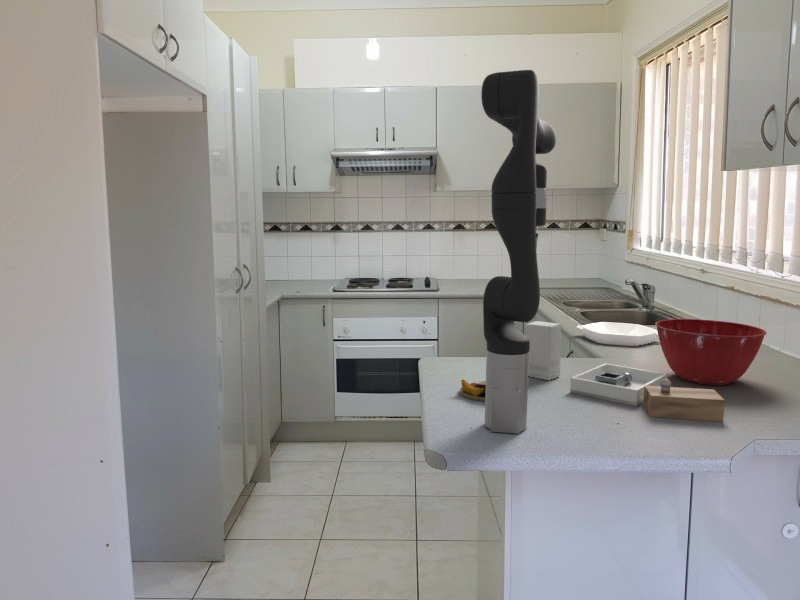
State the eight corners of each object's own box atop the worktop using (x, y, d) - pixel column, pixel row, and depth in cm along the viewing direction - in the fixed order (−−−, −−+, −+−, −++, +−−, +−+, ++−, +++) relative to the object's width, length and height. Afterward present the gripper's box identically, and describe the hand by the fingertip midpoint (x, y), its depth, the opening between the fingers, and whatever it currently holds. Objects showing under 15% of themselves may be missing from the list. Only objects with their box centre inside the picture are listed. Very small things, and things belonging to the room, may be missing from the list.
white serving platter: (572, 343, 237) (573, 331, 236) (578, 331, 260) (579, 320, 259) (664, 350, 226) (665, 337, 226) (662, 337, 250) (662, 325, 249)
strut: (639, 384, 179) (640, 368, 178) (615, 396, 167) (616, 379, 166) (619, 380, 183) (620, 364, 182) (594, 392, 171) (595, 375, 170)
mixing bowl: (657, 362, 207) (661, 314, 205) (760, 374, 194) (765, 323, 192) (645, 383, 182) (649, 329, 180) (762, 398, 169) (768, 339, 167)
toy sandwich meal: (486, 386, 179) (486, 369, 178) (521, 398, 168) (521, 380, 167) (449, 393, 172) (450, 375, 171) (483, 406, 161) (484, 387, 160)
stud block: (723, 421, 151) (725, 387, 150) (649, 416, 154) (652, 382, 153) (712, 409, 160) (714, 377, 159) (643, 405, 163) (645, 373, 161)
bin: (636, 406, 162) (637, 390, 161) (570, 392, 173) (570, 377, 172) (666, 388, 178) (667, 373, 177) (604, 376, 189) (605, 363, 189)
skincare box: (560, 377, 188) (563, 323, 186) (548, 381, 184) (551, 326, 181) (535, 372, 194) (537, 320, 192) (522, 376, 189) (524, 322, 187)
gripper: (547, 206, 158) (544, 274, 160) (545, 206, 172) (543, 268, 174) (515, 206, 159) (513, 273, 161) (516, 206, 173) (514, 267, 175)
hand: (528, 270), depth 168 cm, fingers open, 8 cm apart
